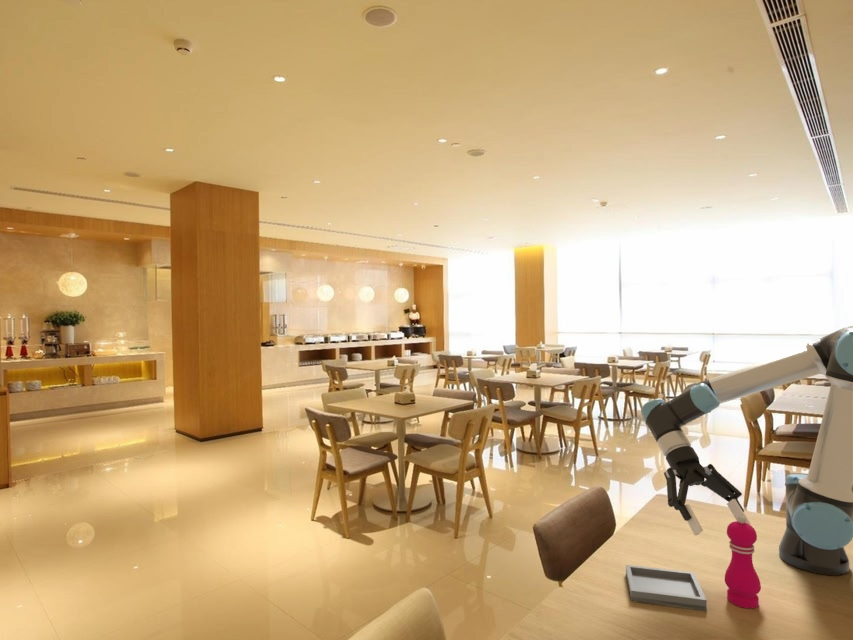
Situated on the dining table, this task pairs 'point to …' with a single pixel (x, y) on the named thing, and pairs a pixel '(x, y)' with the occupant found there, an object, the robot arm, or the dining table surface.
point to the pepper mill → (742, 565)
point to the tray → (665, 587)
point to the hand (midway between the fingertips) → (723, 529)
